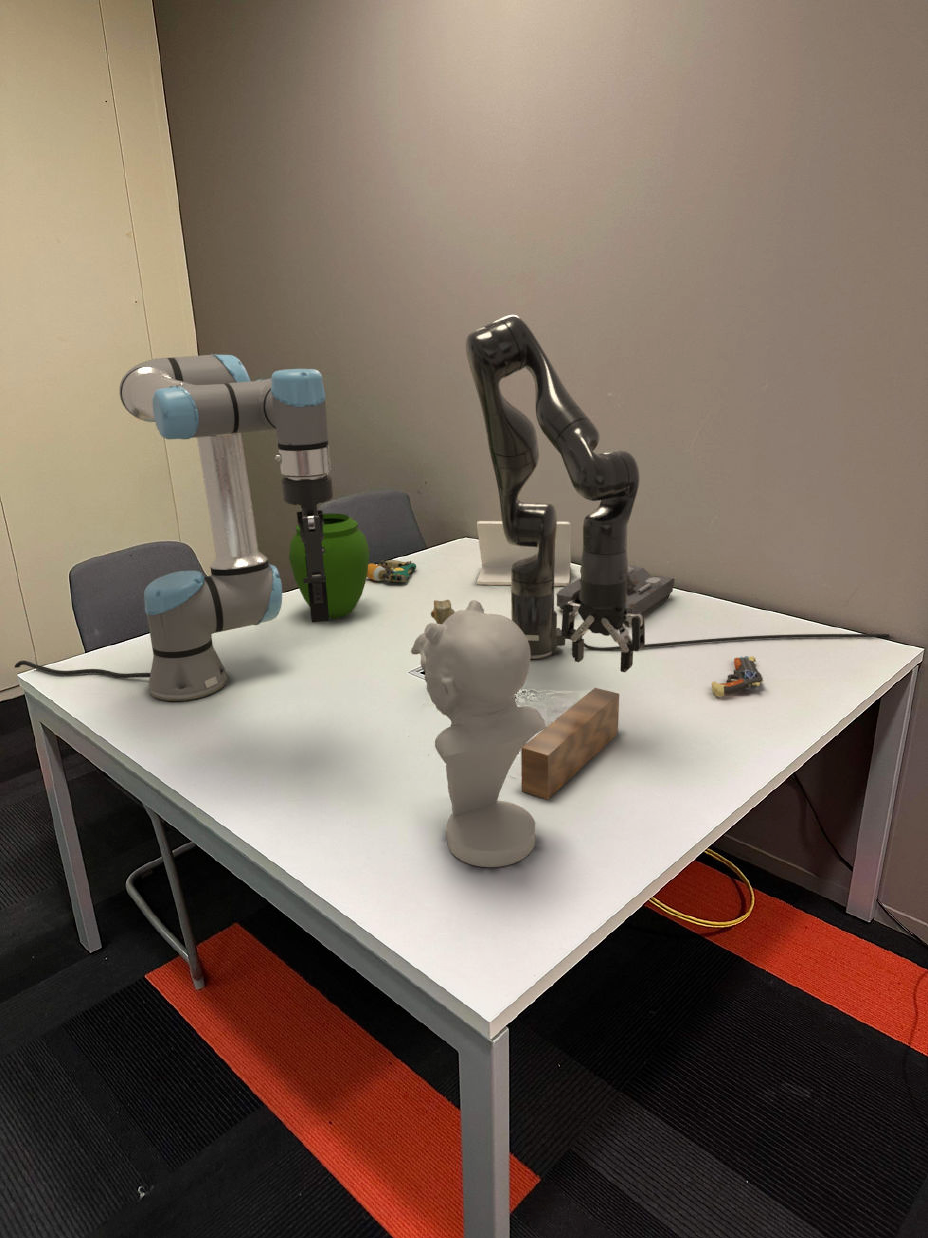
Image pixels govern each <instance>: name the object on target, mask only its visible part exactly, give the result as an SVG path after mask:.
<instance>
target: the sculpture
mask: <svg viewBox="0 0 928 1238" xmlns="http://www.w3.org/2000/svg"><path fill="white" fill-rule="evenodd" d="M455 612H456V611H455V609H453V608H452V602H451V601H450V599H445V600H433V610H431V612H430V617H431V618H432V619H433V620H434V621H435V622H436V623H435V624H443V623H444V622H445V620H446V619H447V618H448V617H450V616H451V615H452V614H453V613H455Z"/></svg>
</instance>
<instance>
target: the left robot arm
mask: <svg viewBox="0 0 928 1238" xmlns="http://www.w3.org/2000/svg"><path fill="white" fill-rule="evenodd" d="M119 398H120V401H121V403H122V406H123V407H124V409H125V410H126V411H127V412H128V413H129V414H130V415H132V416H133V417H135V418H136V419H138V420H139V421H143V422H146V423H147V422H148V423H155V425H156V429H157V431H158V433H159V435H160V436H161V437H162V438H163V439H166V440H190V439H193V438H196V442H197V447H198V454H199V460H200V466H201V472H202V473H201V474H202V478H203V484H204V490H205V497H206V503H207V509H208V515H209V521H210V527H211V533H212V538H213V545H214V551H215V558H214V559H213V561H212V562H211V563H210V566H209V568H210V573H211V574H210V575H208V576H207V575H206V576H204V575H203V573H202V572H201V571H200V570H199V571H198V570H193V569H189V570H179V571H173V572H171V573H167V574H164V575H162V576H160V577H157V578H156V579H154V580H152V581H151V582H150V583H148V585H147V586H146V587H145V589H144V590H143V591H144V592H143V601H144V613H145V614H146V618H147V624H148V631H149V636H150V643H151V648H152V654H153V655H152V661H151V668H150V672H129V673H122V672H121V673H120V672H114V671H110V670H106V669H101V668H84V669H72V670H71V669H70V670H61V669H60V670H59V669H54V668H51V667H47V666H44V665H40V664H36V663H34V662H32V661H31V662H30V661H29V660H19V661H18V662H16V663H15V665H14V669H16V668H20V667H21V666H27V667H30V668H32V669H35V670H39V671H43V672H46V673H49V674H54V675H58V676H72V675H73V676H74V675H84V674H100V675H101V674H102V675H106V676H109V677H113V678H120V679H131V678H132V679H133V678H134V679H135V678H149V679H148V688H149V694H150V695H151V696H152V697H153V698H156V699H157V700H161V701H166V702H186V701H193V700H197V699H202V698H204V697H208V696H211V695H212V694H214V693H217V692H218V691H219V690H221V689H223V688H224V687H225V685H227V682H228V679H227V672H226V668H225V667H224V665H223V663H222V661H221V659H220V657H219V654H218V653H217V651H216V649H215V647H214V644H213V636H212V635H213V634H217V633H222V632H226V631H231V630H236V629H240V628H245V627H250V626H259V625H260V624H262V623H263V624H264V623H267V622H271V621H273V620H275V619H276V618H277V617H278V615H279V614H280V611H281V609H282V605H283V584H282V579H281V577H280V572H279V570H278V568H277V566H276V565H274V564H270V563H269V558H268V557H267V556H266V555H265V554H264V553H262V552H261V551H260V549H259V541H258V535H257V528H256V523H255V516H254V515H255V514H254V508H253V503H252V495H251V489H250V488H251V487H250V482H249V477H248V469H247V463H246V456H245V451H244V449H245V448H244V443H243V436H242V433H252V432H260V431H261V432H263V431H271V430H275V432H276V439H277V448H278V453H279V454H276V455H275V456H274V460H275V462H280V463H279V466H280V467H279V468H280V474H281V475H282V476H283V477H282V479H281V490H282V498H283V502H285V503H286V504H288V505H292V506H297V505H299V506H300V507H301V508H300V510H301V511H296V518H297V525H298V527H299V528H300V533H301V541H302V542H303V543H304V547H305V550H304V551H305V553H306V556H305V561H306V571H307V578H303V582H304V584H305V583H308V591H309V601H310V606H309V613H310V621H311V624H314V623H315V624H316V623H325V622H330V619H329V611H328V600H327V589H326V575H325V572H324V562H323V553H325V548H324V547H322V541H323V540H324V534H323V525H324V519H323V514H324V513H323V509H318V505H319V504H325V503H327V502H329V501H331V500H332V499H333V497H334V491H333V481H332V476H330V472H331V471H332V464H331V452H330V451H331V450H330V444H329V434H328V433H329V431H328V421H327V407H326V406H327V405H326V399H327V395H326V391H325V385H324V381H323V375H322V373H321V372H320V371H319V370H318V369H315V368H288V369H287V368H286V369H279V370H275V371H273V373H272V375H271V376H270V377H267V378H265V377H264V378H260V379H257V380H253V381H252V380H251V379H250V376H249V373H248V371H247V369H246V367H245V366H244V364H243V363H242V361H241V360H240V359H239V358H238V357H237V356H235V355H232V354H215V353H211V354H205V355H203V354H202V355H188V356H174V357H173V356H172V357H158V358H157V357H156V358H152V359H148V360H145V361H143V362H140V363H138V364H136V365H134V366H133V367H132V368H130V369H128V370H127V372H126V373H125V374H124V376H123V377H122V379H121V381H120V384H119Z"/></svg>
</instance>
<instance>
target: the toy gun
mask: <svg viewBox="0 0 928 1238" xmlns="http://www.w3.org/2000/svg"><path fill="white" fill-rule="evenodd" d="M756 662H757V658H756V657H755V656H753V655H752V656H747V655H745V656H744V657H743V656H740V657H734V658H733V664H734V668H735V669H733V670H732V671H733V673H732V674H731V673H730V674H728V675H727V679H726V682H722V683H721V682H720V683H718V682H717V681H712V682H711V691H712V693H713V695H714V696H715V697H719V698H720V697H724V696H728V695H731V694H735V693H737V692H741V691H745V690H746V689H750V688H752V687H754V686H756V687H760V685H761V683H763V682H765V680H764V679H763V676H762V673H760V671H758V669H757V666H756V664H755V663H756Z"/></svg>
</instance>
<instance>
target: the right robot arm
mask: <svg viewBox="0 0 928 1238" xmlns="http://www.w3.org/2000/svg"><path fill="white" fill-rule="evenodd" d="M465 352H466V357H467V361H468V362H467V363H468V366H469V369H470V373H471V375H472V376H471V377H472V380H473V382H474V383H473V384H474V385H475V389H476V393H477V396H478V399H479V403H480V407H481V411H482V417H483V421H484V426H485V432H486V438H487V443H488V449H489V455H490V460H491V463H492V467H493V472H494V475H495V481H496V485H497V490H498V496H499V505H500V506H499V507H500V515H501V516H500V517H501V521H502V525H503V531H504V536H505V538H506V540H507V542H508V543H509V544H511V545H514V546H524V547H538V553H537V554H535V555H533V556H531V557H528V558H524V559H521V560H518V561H516V562H515V563H513V565H512V567H511V585H510V588H511V589H510V597H511V599H510V603H511V604H510V606H511V607H510V609H511V610H510V615H511V617H510V619H511V620H512V621H513V622H514V623H515V624H516V625H517V626H518V627H519V628H520V629H521V630H522V632H523V633H524V634H525V636H526V638H527V640H528V643H529V646H530V652H531V653H530V655H531V656H530V660H540V659H545V658H548V657H550V656H552V655H557V654H558V653H557V650H558V649H557V648H558V647H562V646H566V640H570V641H571V656H572V658H573V659H574V662H575V663H580V662H582V661H583V660H584V657H585V649H588V650H590V651H591V650H592V651H601V652H602V651H604V652H605V651H618V650H621V651H620V667H619V668H620V672H621V673H626V672H627V671H628V670H629V669H631V668H632V666H633V665H634V652H638V651H640V650H641V649H647V648H659V647H669V646H679V645H692V644H694V645H695V644H703V643H705V644H706V643H715V642H716V643H717V642H730V641H731V642H732V641H747V640H765V639H768V640H769V639H794V638H795V639H796V638H797V639H798V638H890V633H803V634H801V633H800V634H799V633H798V634H796V633H795V634H767V635H766V634H765V635H748V636H747V635H746V636H731V637H717V638H705V639H703V638H702V639H694V640H693V639H692V640H682V641H680V640H679V641H671V642H670V641H669V642H658V643H647V644H646V631H645V630H646V627H645V624H646V623H645V621H646V620H645V615H644V614H643V613H641V612H640V613H638V614H628V613H627V611H626V595H627V567H628V565H629V564H628V561H629V560H628V552H627V551H628V550H627V547H628V524H629V520H630V518H631V515H632V512H633V508H634V505H635V501H636V498H637V494H638V491H639V487H640V477H641V476H640V468H639V465H638V462H637V460H636V459H635V457H634V455H632V454H631V453H630V452H628V451H625V450H613V451H609V452H602V453H597V454H596V452H594V450H596V448H597V446H598V445H599V442H600V440H601V439H600V438H601V437H600V436H601V435H600V432H599V430H598V428H597V426H596V425H595V424H594V423H593V422H592V420H591V419H590V417H588V416H587V414H586V413H585V412H584V411H583V410H582V408H581V407H580V406H579V405H578V404H577V403H576V401H575V400H574V398H573V397H572V396H571V394H570V393H569V392H568V390H567V388H566V387H565V385H564V384H563V381H562V380H561V378H560V376H559V375H558V373H557V371H556V370H555V368H554V366H553V364H552V363H551V361H550V359H549V357H548V356H547V354H546V352H545V350H544V349H543V347H542V345H541V344H540V343H539V340H538V339H537V337H536V336H535V334H534V333H533V331H532V329H531V328H530V327H529V325H528V324H527V322H525V321H524V320H523V319H522V318H521V317H520V316H518V315H516V314H509V315H506V316H503V317H501V318H498V319H496V320H494V321H492V322H490V323H488V324H486V325H483V326H481V327H479V328H477V329H475V330H473V331H471V332H470V333H469V334H468V335H467V337H466V339H465ZM523 369H526V370H528V372H529V373H530V375H531V376H532V378H533V380H534V388H535V389H534V390H535V414H536V419H537V423H538V426H539V428H540V430H541V431H542V433H543V434H544V435H545V437H546V438H547V439H548V441H549V442H550V443H551V445H552V446H553V447H554V448H555V450H556V451H557V452H558V453H559V454H560V456H561V459H562V462H563V465H564V467H565V470H566V471H567V475H568V477H569V480H570V482H571V484H572V486H573V488H574V490H575V491H576V492H577V494H579V495H580V496H581V497H582V498H583V499H585V500H588V501H591V502H597V501H598V502H599V501H600V503H599V504H598V507H597V508H596V509H594V510H592V511H591V512H590V513H588V514H587V515H586V516H585V517H584V519H583V525H582V553H581V559H580V568H579V569H580V570H579V572H580V578H581V594H580V600H581V605H580V604H576V603H575V601H574V600H571V601H569V602H567V603H566V604H565V605H564V606H563V610H562V617H561V627H558V613H557V612H556V611H555V586H554V567H555V541H556V528H557V522H558V517H557V510H556V507H555V506H554V504H552V503H549V502H548V503H546V502H529V501H520V499H519V495H520V493H521V491H522V489H523V488H524V486H525V484H526V483H527V482H528V481H529V479H530V478H531V476H532V475H533V473H534V472H535V470H536V468H537V466H538V464H539V460H540V451H539V444H538V443H539V442H538V437H537V431H536V427H535V426H534V423H533V421H532V420H531V419H530V418H529V417H528V416H527V415H526V414H525V413H523V412H522V411H521V410H520V409H518V408H517V407H516V406H515V405H513V404H512V403H510V402H509V401H508V400H507V398H506V397H504V395H503V393H502V391H501V387H500V386H501V385H500V383H501V381H502V380H503V379H505V378H507V377H510V376H511V375H514V374H516V373H518V372H520V371H522V370H523ZM577 614H579V616H580V617H581V619H582V621H583V622H582V623H581V624H580V625H579V626H578V628H577V629H575V622H576V621H575V620H576V615H577ZM625 621H628V622H627V623H628V627H630V628H631V636H630V632H629V630H628V628H627V627H626V625H625ZM588 631H590V632H591V633H592V634H601V635H602V636H607V637H609V636H610V637H611V638H612V640H613V641H614V642H615V643H616V644H617V645H618V646H607V647H606V646H605V647H597V646H592V645H588V644H587V643H585V638H583V636H584V635H586V634H587V632H588Z"/></svg>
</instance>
